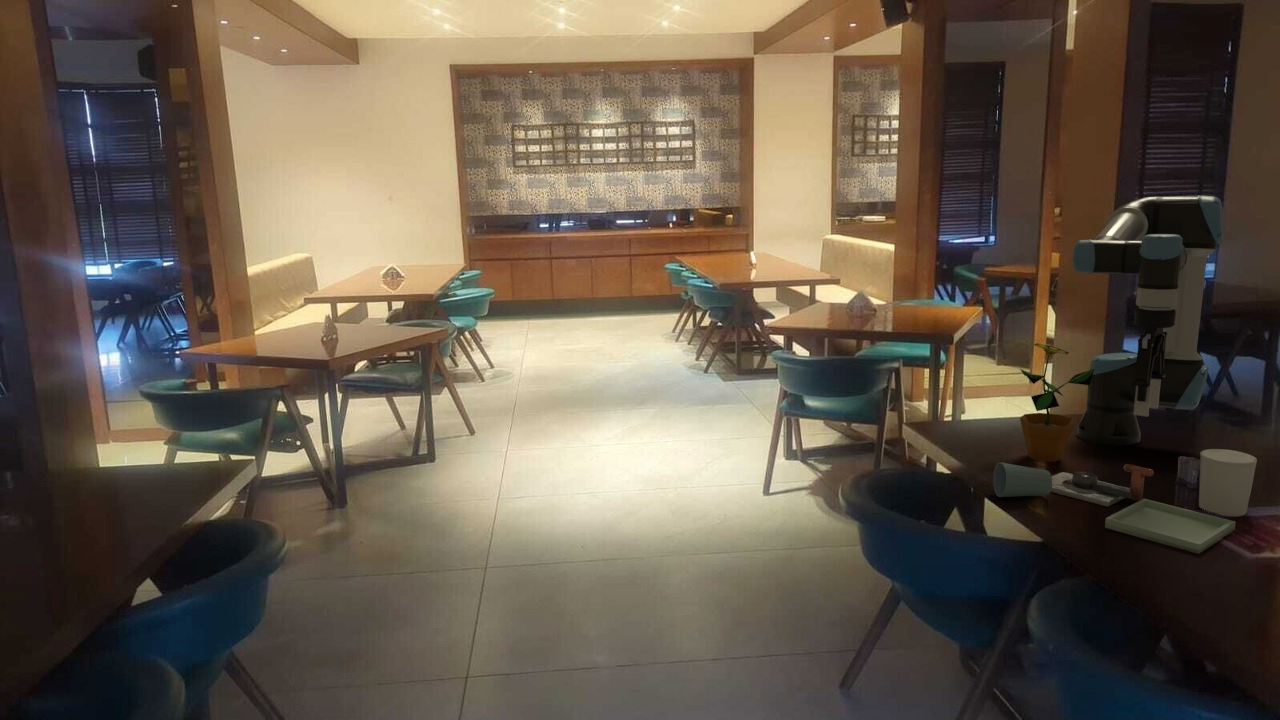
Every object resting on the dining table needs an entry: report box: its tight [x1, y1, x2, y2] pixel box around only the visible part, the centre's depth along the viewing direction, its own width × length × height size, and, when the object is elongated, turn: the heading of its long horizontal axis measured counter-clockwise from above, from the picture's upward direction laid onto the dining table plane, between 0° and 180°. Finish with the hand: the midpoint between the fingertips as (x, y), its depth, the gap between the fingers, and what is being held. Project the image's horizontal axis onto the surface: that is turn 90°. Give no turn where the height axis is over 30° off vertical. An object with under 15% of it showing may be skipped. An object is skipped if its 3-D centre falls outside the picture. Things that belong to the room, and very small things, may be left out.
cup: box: [992, 461, 1052, 498], centre depth 190 cm, size 8×8×10 cm
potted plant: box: [1019, 343, 1094, 463], centre depth 215 cm, size 18×19×30 cm
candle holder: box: [1198, 448, 1258, 517], centre depth 180 cm, size 10×10×12 cm
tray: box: [1104, 498, 1236, 555], centre depth 171 cm, size 17×17×2 cm
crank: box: [1072, 463, 1155, 501], centre depth 188 cm, size 16×5×7 cm, turn 37°
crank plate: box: [1050, 471, 1130, 507], centre depth 194 cm, size 12×16×1 cm
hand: (1146, 411), depth 187 cm, fingers open, 8 cm apart
